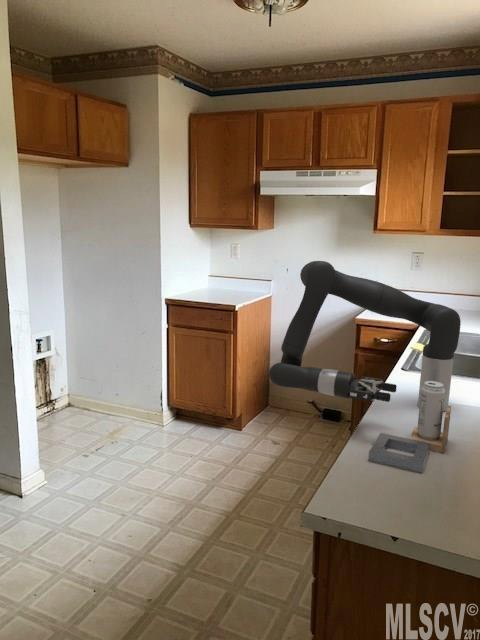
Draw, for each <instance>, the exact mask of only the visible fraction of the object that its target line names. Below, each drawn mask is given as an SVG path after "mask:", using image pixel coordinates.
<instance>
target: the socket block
mask: <svg viewBox="0 0 480 640" xmlns="http://www.w3.org/2000/svg"><path fill="white" fill-rule="evenodd" d="M388 448H389V449H394V450H398V449H399V450H398V451H402V450H404V451H403V452H407V451H408V453H412V454H413V456H412V455H407V454H402V453H398V452H393V451H391V450H390V451H389V450H387V449H388ZM429 454H430V443H428V442H423V441H418V440H413V439H409V438H407V437H402V436H397V435H392V434H389V433H382V432H379V434H378V436H377V437H376V439H375V441H374V442H373V444H372V445H371V448H370V449H369V452H368V462H372V463H376V464H381V465H384V466H389V467H394V468H397V469H403V470H407V471H411V472H414V473H415V472H416V473H419V474H423V472H424V470H425V466H426V463H427V460H428V457H429V456H430V455H429Z"/></svg>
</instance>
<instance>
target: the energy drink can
mask: <svg viewBox="0 0 480 640" xmlns="http://www.w3.org/2000/svg"><path fill="white" fill-rule="evenodd" d="M444 398H445V389H444V387H443V384H442V383H440V382H436V381H425V382H424V385H423V386H422V388H421V397H420V407H419V406H418V407H419V408H418V420H417V432H418V433H419V436H420V437H422V438H424V439H428V440H436V439H438V437H439V436H440V434H441V432H442V424H443V416H444V414H443V413H444V412H443V407H444Z"/></svg>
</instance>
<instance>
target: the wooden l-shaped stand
mask: <svg viewBox="0 0 480 640" xmlns="http://www.w3.org/2000/svg"><path fill="white" fill-rule="evenodd" d="M451 413H452V406H451V405H448V408H447V411H445V415H444V420H443V427H442V428H443V430H442V431H441V434H440V436H439V437H438V439H436V440H428V439H424V438H422V437H420V436H419V433H418V432H417V427H418V426H417V427H416V426H414V427H413V429H412V432H411V434H410V437H409V438H408V439H413V440H418V441H423V442H428V443H430V451H431V452H435V453H436V452H437V453H440V454H445V451H446V447H447V445H448V440H449V432H450V431H449V430H450V421H451V415H452V414H451ZM430 451H429V452H430Z"/></svg>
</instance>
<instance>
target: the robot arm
mask: <svg viewBox="0 0 480 640" xmlns="http://www.w3.org/2000/svg"><path fill="white" fill-rule="evenodd" d="M299 274H300V276H299V277H300V280H301V284H303V286H304V292H303V297H302V299H301V301H300V304H299V306H298V307H297V311H296V312H295V313H294V316H293V317H292V319H291V321H290V323H289V325H288V327H287V330H286V333H285V335H284V338H283V341H282V343H281V347H280V350H281V352H282V354H281V355H282V356H281V359H280V361H279V362H276V363H274V364H272V366H271V367H270V369H269V371H268V376H269V380H270V381H271V383H272V384H274V385H275V386H278V387H284V388H292V389H293V388H294V389H302V390H306V391H310V392H314V393H320V394H324V395H326V396H333V397H336V398H343V399H348V400H349V399H353V400H357V401H362V402H367V403H372V401H382V402H388V403H389V402H390V401H391V393H396V392H397V384H395V383H388V382H384V381H383V379H382V378H377V377H371V376H370V377H369V376H361V379H357V378H356V375H355V373H354V372H351V371H350V372H349V371H343V370H338V369H337V370H336V369H331V368H327V369H326V368H319V367H312V366H302V363H303V355H304V353H305V350H306V347H307V345H308V341H309V339H310V336H311V333H312V331H313V327H314V326H315V322H316V320H317V317H318V315H319V313H320V311H321V308H322V306H323V305H324V303H325V300H326V299H327V297H328V295H332V296H334V297H338V298H341V299H343V300H345V301H347V302H349V303H350V304H353V305H355V306H358V307H359V308H362V309H364V310H367V311H370V312H372V313H374V314H377V315H380V316H383V317H389V318H393V319H394V318H395V319H401V320H406V321H409V322H411V323H413V324H415V325H418V326H419V327H421V328H423V329H425V330H427V331H428V332H429V339H428V343H427V344H425V345H424V346H423V348H422V356H421V357H422V358H421V368H420V376H419V377H420V378H419V385H418V386H419V389H418V397H417V398H418V399H417V407H420V397H421V388H422V386H423V385H424V382H425V381H436V382H440V383H442V384H443V387H444V389H445V398H444V407H443V413H444V412H446V411H447V408H448V406H449V403H450V402H449V401H450V392H451V384H452V376H453V375H452V374H453V373H452V372H453V365H454V355H455V352H456V351H457V348H458V345H459V339H460V333H461V322H462V321H461V316H460V314H459V312H458V311H456V310H455V309H453V308H451V307H448V306H446V305H443V304H440V303H434V302H428V301H425V300H422V299H418V298H415V297H413V296H411V295H409V294H407V293H405V292H404V291H402V290H399V289H398V288H396V287H393V286H391V285H389V284H385V283H382V282H379V281H377V280H372V279H369V278H364V277H360V276H359V277H358V276H352V275H349V274H346V273H344V272H341V271H339V270H336V269H335V268H334V266H333V265H332V264H331V263H330V262H328V261H326V260H324V261H323V260H313V261H309V262H308V263H306V264H304V266H303V267H302V269H300V273H299ZM389 392H391V393H389Z"/></svg>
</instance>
